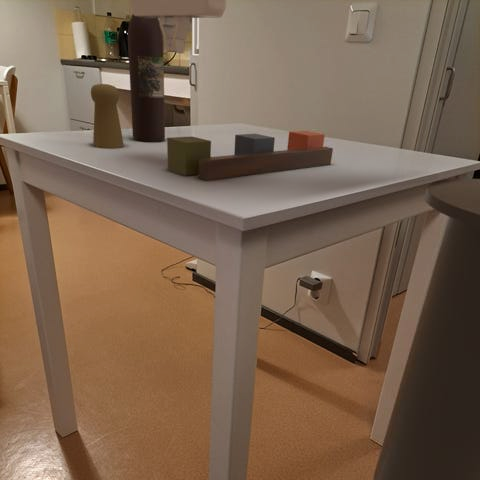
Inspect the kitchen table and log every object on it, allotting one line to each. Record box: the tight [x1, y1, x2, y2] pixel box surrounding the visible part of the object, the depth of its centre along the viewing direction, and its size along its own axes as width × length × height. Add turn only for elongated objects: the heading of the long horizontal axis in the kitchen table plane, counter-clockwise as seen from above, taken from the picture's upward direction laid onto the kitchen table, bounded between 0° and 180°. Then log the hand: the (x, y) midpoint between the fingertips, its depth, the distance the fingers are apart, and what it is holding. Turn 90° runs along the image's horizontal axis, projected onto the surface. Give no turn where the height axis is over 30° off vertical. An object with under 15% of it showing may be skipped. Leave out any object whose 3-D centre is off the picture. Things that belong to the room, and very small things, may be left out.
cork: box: [90, 83, 125, 149], centre depth 89 cm, size 6×6×11 cm
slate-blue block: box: [233, 133, 276, 155], centre depth 82 cm, size 5×5×5 cm
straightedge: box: [198, 146, 334, 182], centre depth 79 cm, size 2×31×3 cm, turn 132°
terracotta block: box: [286, 130, 326, 150], centre depth 90 cm, size 5×5×5 cm
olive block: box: [166, 135, 212, 177], centre depth 74 cm, size 5×5×5 cm
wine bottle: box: [127, 13, 166, 143], centre depth 94 cm, size 7×7×30 cm
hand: (174, 52), depth 71 cm, fingers closed
